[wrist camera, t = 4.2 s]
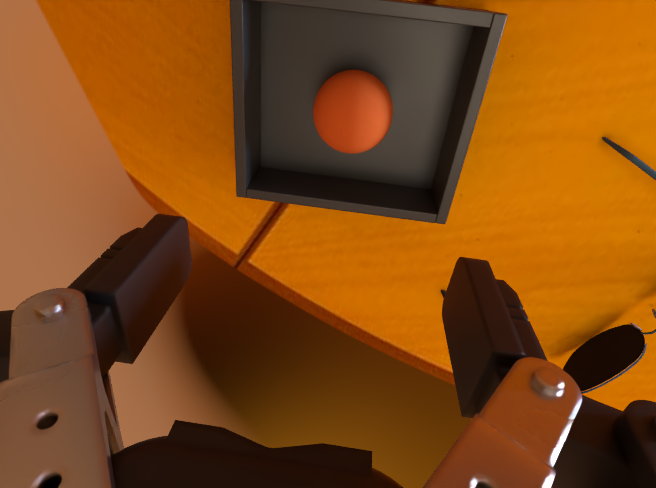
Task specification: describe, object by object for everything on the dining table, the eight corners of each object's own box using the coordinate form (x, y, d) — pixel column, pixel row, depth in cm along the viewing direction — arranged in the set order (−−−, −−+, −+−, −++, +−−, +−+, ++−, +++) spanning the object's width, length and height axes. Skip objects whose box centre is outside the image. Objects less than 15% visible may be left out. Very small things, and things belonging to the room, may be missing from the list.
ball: (315, 134, 28) (305, 159, 24) (321, 59, 26) (310, 72, 22) (384, 143, 28) (386, 170, 24) (398, 68, 26) (402, 83, 21)
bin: (253, 171, 31) (236, 196, 27) (252, -17, 24) (228, -18, 21) (436, 195, 31) (445, 224, 27) (487, 10, 24) (508, 14, 20)
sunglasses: (558, 362, 39) (574, 404, 34) (438, 280, 37) (439, 313, 33) (744, 240, 30) (797, 275, 26) (596, 126, 29) (625, 144, 24)
